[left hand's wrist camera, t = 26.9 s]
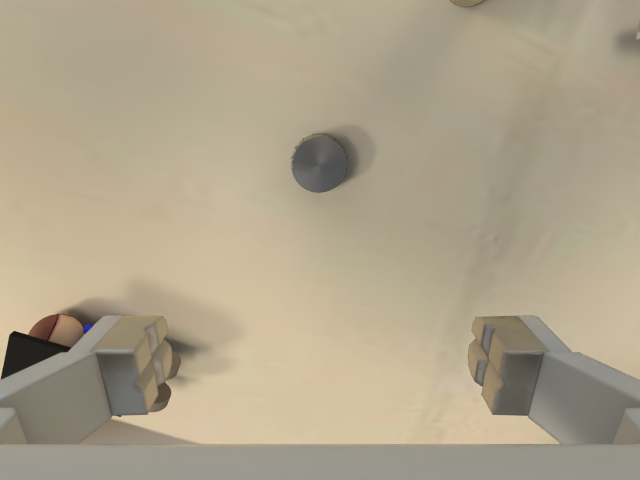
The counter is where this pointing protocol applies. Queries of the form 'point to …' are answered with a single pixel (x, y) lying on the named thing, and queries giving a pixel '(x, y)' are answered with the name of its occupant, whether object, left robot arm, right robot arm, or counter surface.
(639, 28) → the right robot arm
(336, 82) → the counter surface
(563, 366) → the left robot arm
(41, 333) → the figurine character
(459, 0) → the beige cylinder
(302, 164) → the lid
